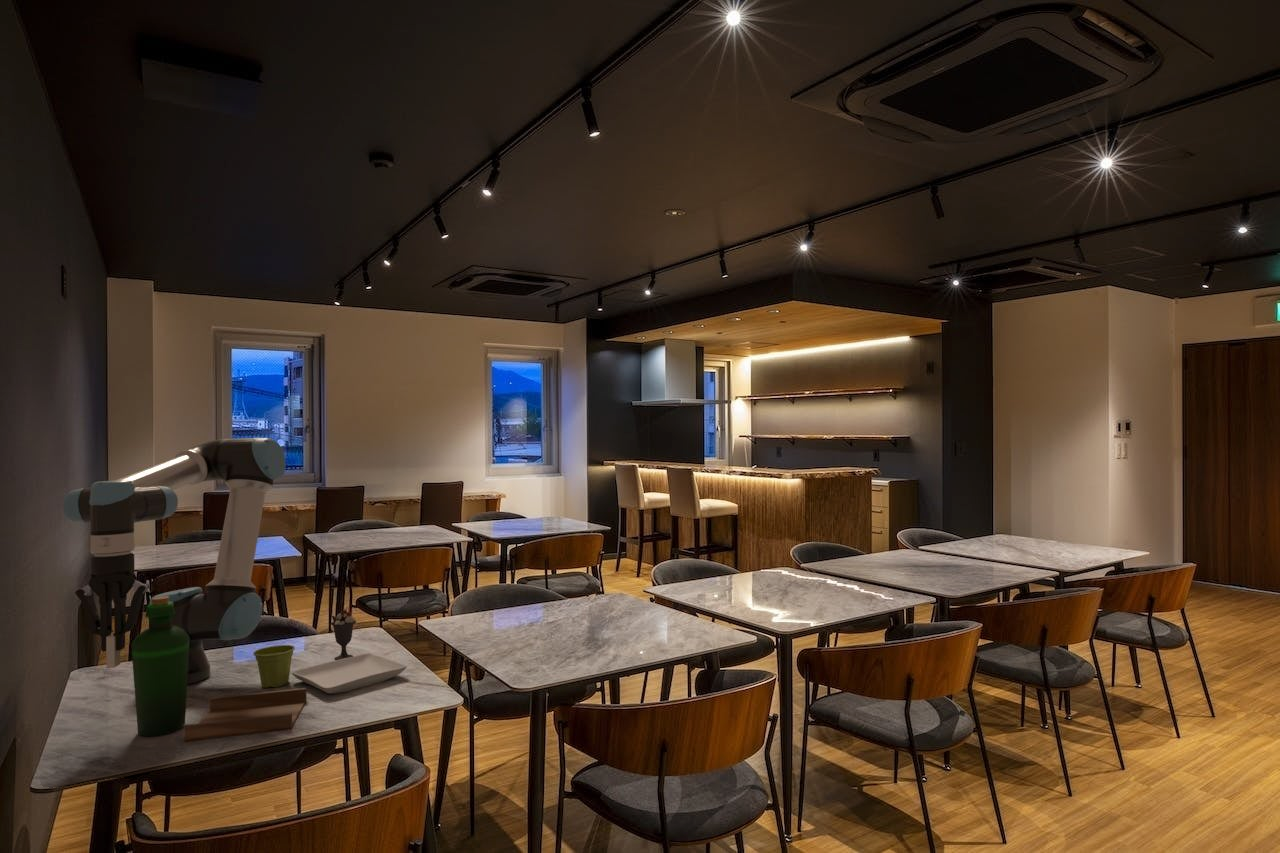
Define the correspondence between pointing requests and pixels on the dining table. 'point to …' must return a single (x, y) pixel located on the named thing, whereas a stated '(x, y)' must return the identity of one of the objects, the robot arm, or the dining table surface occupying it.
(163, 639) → the bottle
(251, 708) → the cradle
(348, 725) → the dining table surface
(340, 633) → the sundae
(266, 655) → the plant pot
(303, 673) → the salad plate
